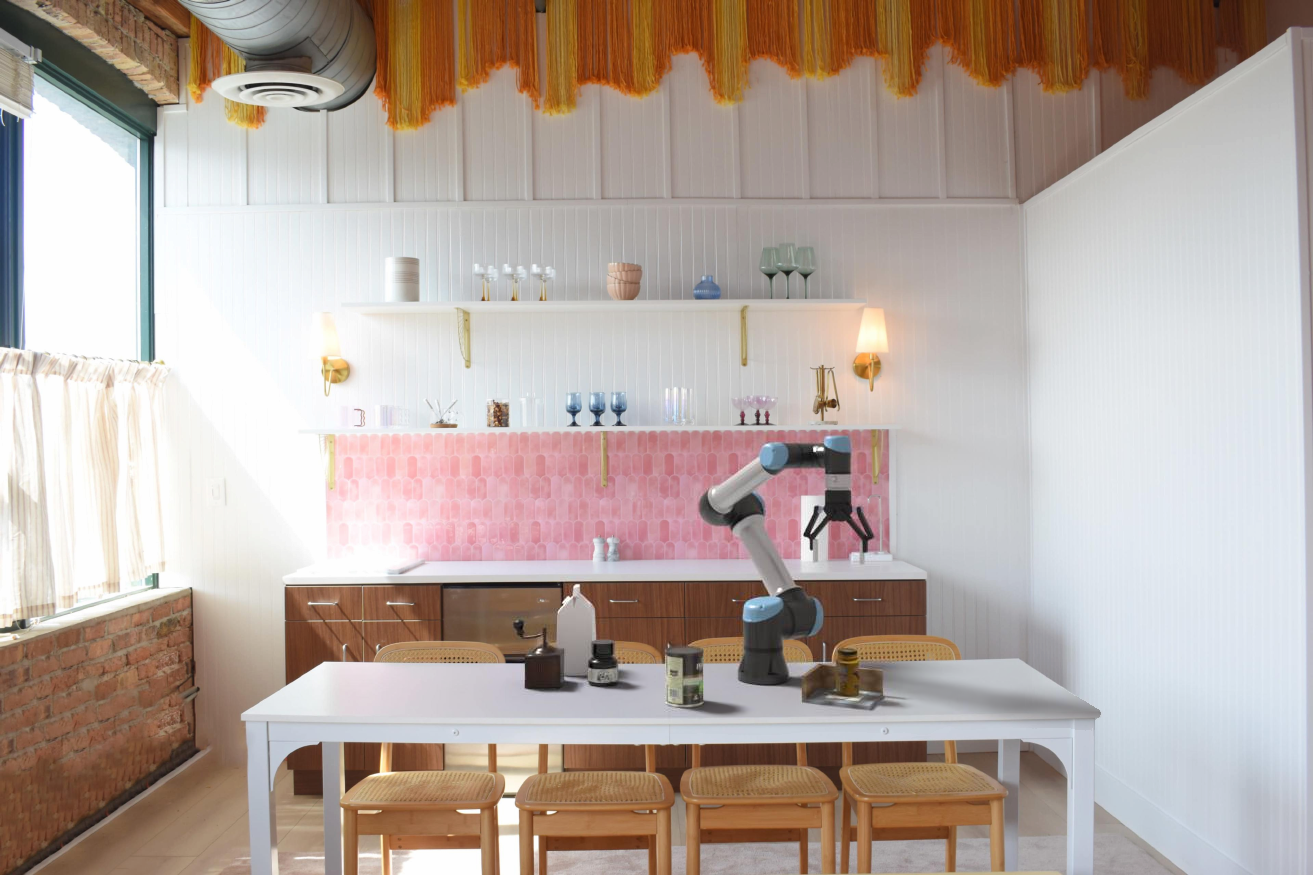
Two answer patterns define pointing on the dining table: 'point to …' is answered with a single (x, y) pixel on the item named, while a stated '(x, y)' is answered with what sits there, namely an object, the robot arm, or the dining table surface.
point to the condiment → (846, 674)
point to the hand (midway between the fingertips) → (838, 563)
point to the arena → (825, 681)
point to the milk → (576, 633)
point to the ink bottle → (603, 664)
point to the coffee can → (684, 676)
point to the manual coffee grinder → (542, 662)
